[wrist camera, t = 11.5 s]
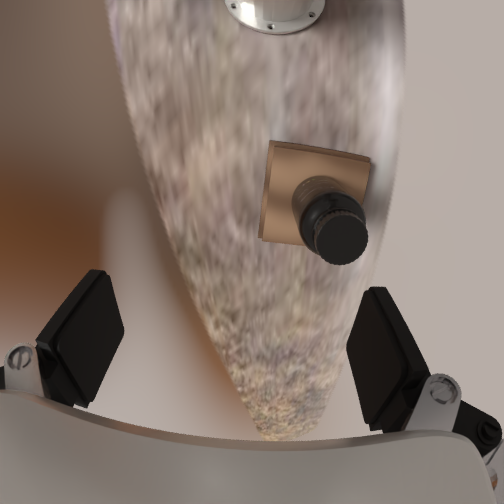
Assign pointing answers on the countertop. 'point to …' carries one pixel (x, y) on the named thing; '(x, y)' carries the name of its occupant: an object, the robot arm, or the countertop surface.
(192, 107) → the countertop surface
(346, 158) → the walnut pedestal
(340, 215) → the supplement bottle
